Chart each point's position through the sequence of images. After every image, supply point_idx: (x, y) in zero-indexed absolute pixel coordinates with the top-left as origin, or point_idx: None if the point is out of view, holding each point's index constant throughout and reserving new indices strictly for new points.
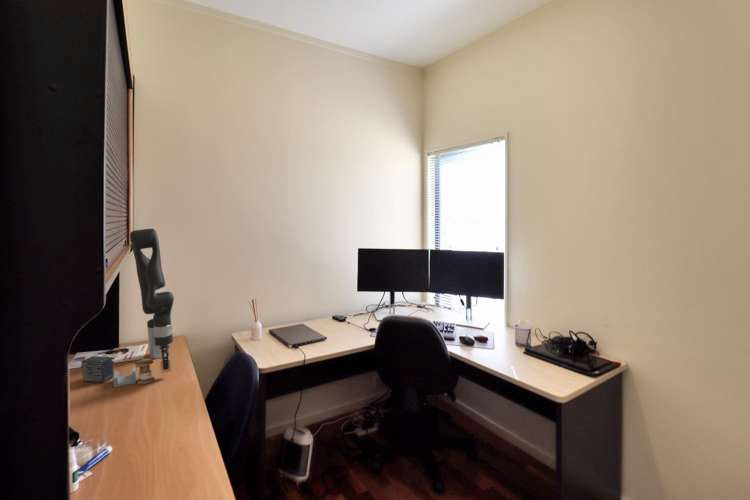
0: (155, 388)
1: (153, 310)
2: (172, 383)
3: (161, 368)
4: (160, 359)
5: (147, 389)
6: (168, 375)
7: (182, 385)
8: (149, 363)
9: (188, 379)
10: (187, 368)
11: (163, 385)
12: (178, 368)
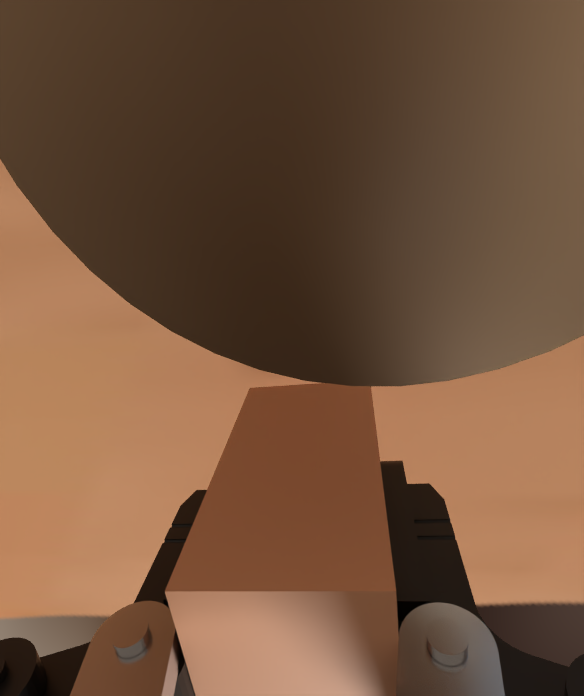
0: (17, 281)
1: None
2: (107, 459)
3: (230, 450)
4: (348, 599)
5: (9, 175)
6: (381, 414)
7: (27, 542)
8: (102, 259)
9: None
10: (483, 600)
11: (81, 369)
12: (557, 519)
